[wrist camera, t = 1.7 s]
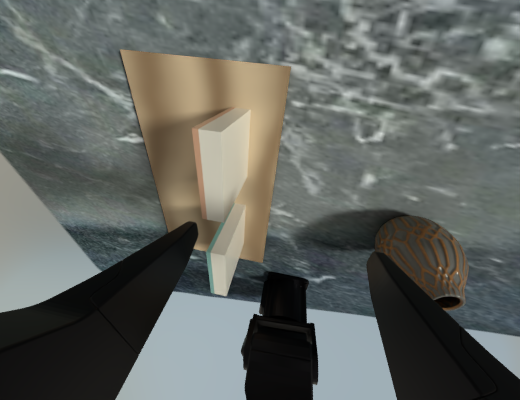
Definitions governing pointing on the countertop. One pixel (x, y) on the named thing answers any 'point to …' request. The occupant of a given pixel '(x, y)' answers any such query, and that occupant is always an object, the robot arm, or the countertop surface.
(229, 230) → the teal tile
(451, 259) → the vase
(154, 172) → the cork mat
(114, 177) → the countertop surface
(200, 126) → the terracotta tile
